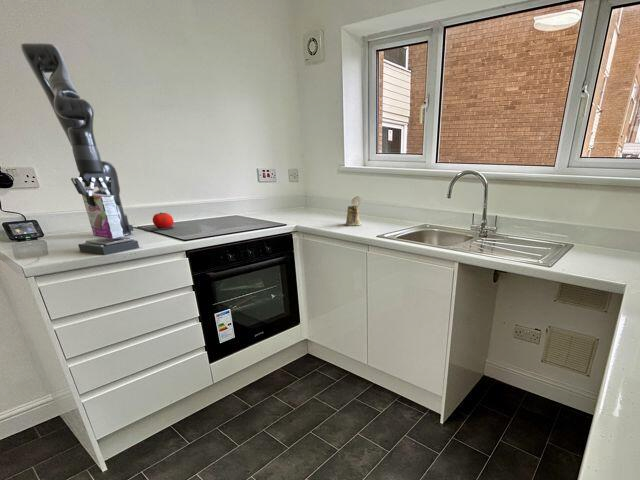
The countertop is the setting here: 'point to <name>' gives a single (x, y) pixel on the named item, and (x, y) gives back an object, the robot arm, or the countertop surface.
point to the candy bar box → (104, 216)
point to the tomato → (163, 220)
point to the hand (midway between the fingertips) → (100, 205)
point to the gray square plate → (109, 240)
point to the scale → (108, 247)
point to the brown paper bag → (353, 213)
